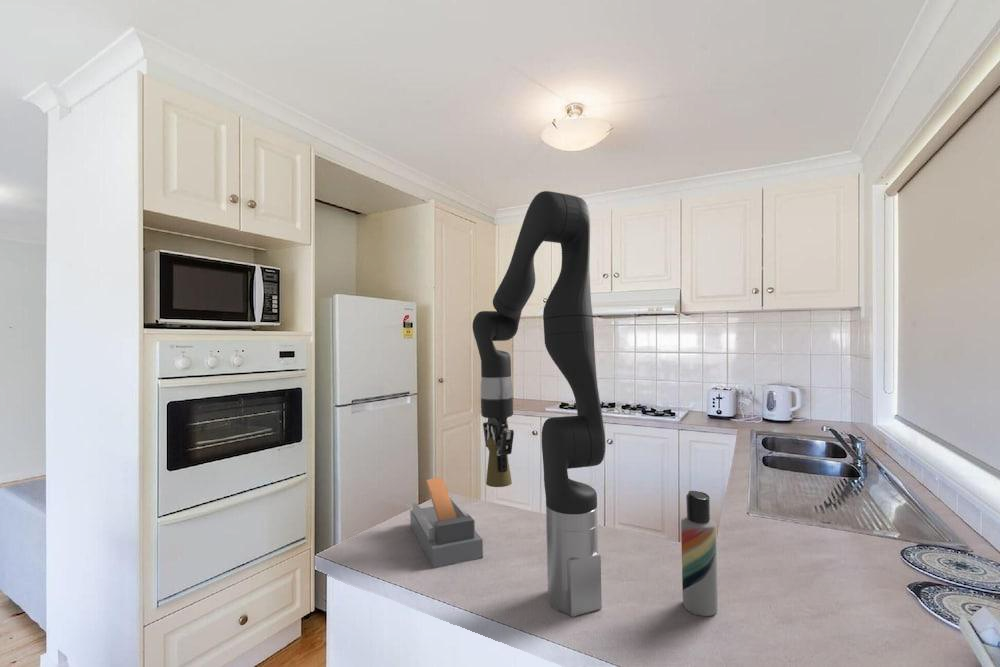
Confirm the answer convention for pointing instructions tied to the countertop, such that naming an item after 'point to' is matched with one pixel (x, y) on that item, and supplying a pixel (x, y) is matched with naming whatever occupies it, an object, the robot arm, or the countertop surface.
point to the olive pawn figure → (496, 468)
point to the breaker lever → (440, 499)
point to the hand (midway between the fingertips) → (498, 469)
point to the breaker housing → (446, 535)
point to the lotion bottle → (699, 556)
